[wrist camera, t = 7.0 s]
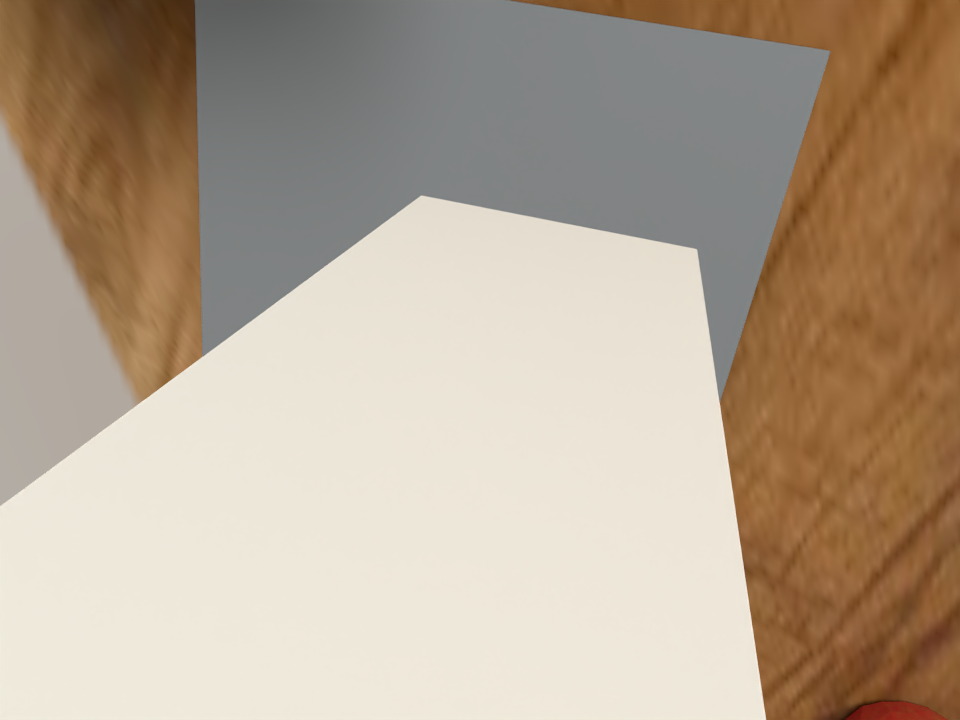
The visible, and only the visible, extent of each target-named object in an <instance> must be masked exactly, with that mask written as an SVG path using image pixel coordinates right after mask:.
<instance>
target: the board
mask: <svg viewBox="0 0 960 720" xmlns="http://www.w3.org/2000/svg"><path fill="white" fill-rule="evenodd" d="M195 28H196V75H197V121H198V168H199V215H200V262H201V309H202V355H203V356H205V355H206V354H207V353H209V352H210V351H211V350H213V349H214V348H215V347H217V346H218V345H220V344H221V343H222V342H224V341H225V340H226V339H228V338H229V337H230V336H232V335H233V334H234V333H236V332H237V331H238V330H240V329H241V328H243V327H244V326H245V325H247V324H248V323H249V322H251V321H252V320H253V319H255V318H256V317H257V316H259V315H260V314H261V313H263V312H264V311H266V310H267V309H268V308H270V307H271V306H272V305H274V304H275V303H276V302H278V301H279V300H280V299H282V298H283V297H285V296H286V295H287V294H289V293H290V292H291V291H293V290H294V289H295V288H297V287H298V286H299V285H301V284H302V283H303V282H305V281H306V280H308V279H309V278H310V277H312V276H313V275H314V274H316V273H317V272H318V271H320V270H321V269H322V268H324V267H325V266H326V265H328V264H329V263H331V262H332V261H333V260H335V259H336V258H337V257H339V256H340V255H341V254H343V253H344V252H345V251H347V250H348V249H349V248H351V247H352V246H354V245H355V244H356V243H358V242H359V241H360V240H362V239H363V238H364V237H366V236H367V235H368V234H370V233H371V232H372V231H374V230H375V229H377V228H378V227H379V226H381V225H382V224H383V223H385V222H386V221H387V220H389V219H390V218H391V217H393V216H394V215H396V214H397V213H398V212H400V211H401V210H402V209H404V208H405V207H406V206H408V205H409V204H410V203H412V202H413V201H414V200H416V199H417V198H419V197H420V196H421V195H422V196H427V197H432V198H437V199H442V200H447V201H452V202H458V203H463V204H468V205H473V206H478V207H483V208H488V209H494V210H499V211H504V212H509V213H514V214H519V215H524V216H530V217H535V218H540V219H545V220H550V221H555V222H560V223H566V224H571V225H576V226H581V227H586V228H591V229H596V230H601V231H607V232H612V233H617V234H622V235H627V236H632V237H637V238H643V239H648V240H653V241H658V242H663V243H668V244H673V245H679V246H684V247H689V248H694V249H697V252H698V259H699V266H700V273H701V280H702V286H703V293H704V300H705V307H706V314H707V321H708V327H709V334H710V341H711V348H712V355H713V362H714V368H715V375H716V382H717V389H718V396H719V403H720V400H721V397H722V394H723V390H724V387H725V384H726V381H727V378H728V375H729V371H730V368H731V365H732V362H733V359H734V356H735V352H736V349H737V346H738V343H739V340H740V336H741V333H742V330H743V327H744V324H745V321H746V317H747V314H748V311H749V308H750V305H751V302H752V298H753V295H754V292H755V289H756V286H757V283H758V279H759V276H760V273H761V270H762V267H763V264H764V260H765V257H766V254H767V251H768V248H769V244H770V241H771V238H772V235H773V232H774V229H775V225H776V222H777V219H778V216H779V213H780V210H781V206H782V203H783V200H784V197H785V194H786V191H787V187H788V184H789V181H790V178H791V175H792V172H793V168H794V165H795V162H796V159H797V156H798V152H799V149H800V146H801V143H802V140H803V137H804V133H805V130H806V127H807V124H808V121H809V118H810V114H811V111H812V108H813V105H814V102H815V99H816V95H817V92H818V89H819V86H820V83H821V80H822V76H823V73H824V70H825V67H826V64H827V61H828V57H829V54H830V51H827V50H823V49H816V48H810V47H804V46H797V45H791V44H784V43H778V42H772V41H765V40H759V39H752V38H746V37H740V36H733V35H727V34H720V33H714V32H708V31H701V30H695V29H688V28H682V27H676V26H669V25H663V24H656V23H650V22H644V21H637V20H631V19H625V18H618V17H612V16H605V15H599V14H593V13H586V12H580V11H573V10H567V9H561V8H554V7H548V6H541V5H535V4H529V3H522V2H516V1H509V0H195Z"/></svg>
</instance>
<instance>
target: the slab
mask: <svg viewBox="0 0 960 720" xmlns="http://www.w3.org/2000/svg"><path fill="white" fill-rule="evenodd" d="M0 720H766V717H765V710H764V703H763V696H762V689H761V683H760V676H759V669H758V662H757V655H756V648H755V642H754V635H753V628H752V621H751V614H750V607H749V601H748V594H747V587H746V580H745V573H744V566H743V560H742V553H741V546H740V539H739V532H738V525H737V519H736V512H735V505H734V498H733V491H732V485H731V478H730V471H729V464H728V457H727V450H726V444H725V437H724V430H723V423H722V416H721V409H720V403H719V396H718V389H717V382H716V375H715V368H714V362H713V355H712V348H711V341H710V334H709V327H708V321H707V314H706V307H705V300H704V293H703V286H702V280H701V273H700V266H699V259H698V252H697V249H694V248H689V247H684V246H679V245H673V244H668V243H663V242H658V241H653V240H648V239H643V238H637V237H632V236H627V235H622V234H617V233H612V232H607V231H601V230H596V229H591V228H586V227H581V226H576V225H571V224H566V223H560V222H555V221H550V220H545V219H540V218H535V217H530V216H524V215H519V214H514V213H509V212H504V211H499V210H494V209H488V208H483V207H478V206H473V205H468V204H463V203H458V202H452V201H447V200H442V199H437V198H432V197H427V196H422V195H421V196H420V197H419V198H417V199H416V200H414V201H413V202H412V203H410V204H409V205H408V206H406V207H405V208H404V209H402V210H401V211H400V212H398V213H397V214H396V215H394V216H393V217H391V218H390V219H389V220H387V221H386V222H385V223H383V224H382V225H381V226H379V227H378V228H377V229H375V230H374V231H372V232H371V233H370V234H368V235H367V236H366V237H364V238H363V239H362V240H360V241H359V242H358V243H356V244H355V245H354V246H352V247H351V248H349V249H348V250H347V251H345V252H344V253H343V254H341V255H340V256H339V257H337V258H336V259H335V260H333V261H332V262H331V263H329V264H328V265H326V266H325V267H324V268H322V269H321V270H320V271H318V272H317V273H316V274H314V275H313V276H312V277H310V278H309V279H308V280H306V281H305V282H303V283H302V284H301V285H299V286H298V287H297V288H295V289H294V290H293V291H291V292H290V293H289V294H287V295H286V296H285V297H283V298H282V299H280V300H279V301H278V302H276V303H275V304H274V305H272V306H271V307H270V308H268V309H267V310H266V311H264V312H263V313H261V314H260V315H259V316H257V317H256V318H255V319H253V320H252V321H251V322H249V323H248V324H247V325H245V326H244V327H243V328H241V329H240V330H238V331H237V332H236V333H234V334H233V335H232V336H230V337H229V338H228V339H226V340H225V341H224V342H222V343H221V344H220V345H218V346H217V347H215V348H214V349H213V350H211V351H210V352H209V353H207V354H206V355H205V356H203V357H202V358H201V359H199V360H198V361H197V362H195V363H194V364H192V365H191V366H190V367H188V368H187V369H186V370H184V371H183V372H182V373H180V374H179V375H178V376H176V377H175V378H173V379H172V380H171V381H169V382H168V383H167V384H165V385H164V386H163V387H161V388H160V389H159V390H157V391H156V392H155V393H153V394H152V395H150V396H149V397H148V398H146V399H145V400H144V401H142V402H141V403H140V404H138V405H137V406H136V407H134V408H133V409H132V410H130V411H129V412H127V413H126V414H125V415H123V416H122V417H121V418H120V419H118V420H117V421H115V422H114V423H113V424H111V425H110V426H109V427H107V428H106V429H104V430H103V431H102V432H100V433H99V434H98V435H96V436H95V437H94V438H92V439H91V440H90V441H88V442H87V443H86V444H84V445H83V446H82V447H80V448H79V449H77V450H76V451H75V452H73V453H72V454H71V455H69V456H68V457H67V458H65V459H64V460H63V461H61V462H60V463H58V464H57V465H56V466H54V467H53V468H52V469H50V470H49V471H48V472H47V473H45V474H44V475H42V476H41V477H39V478H38V479H37V480H35V481H34V482H33V483H31V484H30V485H29V486H27V487H26V488H25V489H23V490H22V491H21V492H19V493H18V494H16V495H15V496H14V497H13V498H11V499H10V500H8V501H7V502H6V503H4V504H3V505H2V506H0Z"/></svg>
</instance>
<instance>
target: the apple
mask: <svg viewBox="0 0 960 720" xmlns="http://www.w3.org/2000/svg"><path fill="white" fill-rule="evenodd" d="M846 720H947V719H945V718H944V717H942V716H940V715H939V714H937V713H935V712H934V711H932V710H931V709H929V708H927V707H924V706H920V705H917V704H913V703H909V702H878V703H874V704H869V705H865V706H861V707H860V708H859V709H858V710H856V711H855V712H854V713H853V714H851V715H850V716H849V717H848V718H846Z"/></svg>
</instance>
